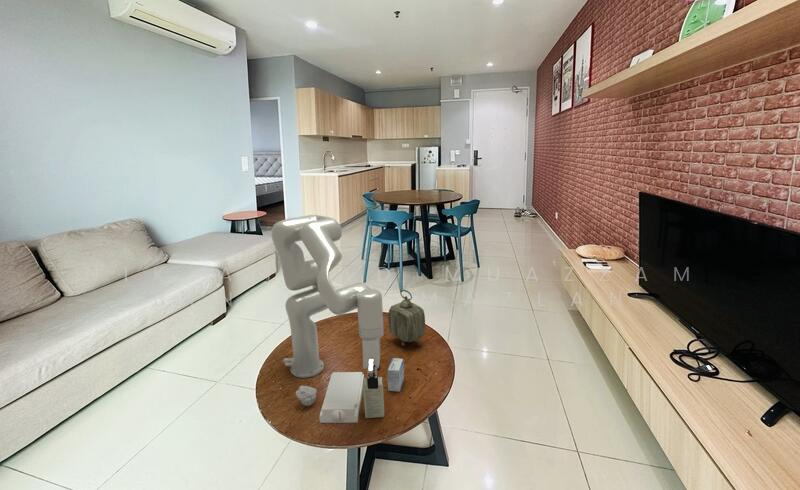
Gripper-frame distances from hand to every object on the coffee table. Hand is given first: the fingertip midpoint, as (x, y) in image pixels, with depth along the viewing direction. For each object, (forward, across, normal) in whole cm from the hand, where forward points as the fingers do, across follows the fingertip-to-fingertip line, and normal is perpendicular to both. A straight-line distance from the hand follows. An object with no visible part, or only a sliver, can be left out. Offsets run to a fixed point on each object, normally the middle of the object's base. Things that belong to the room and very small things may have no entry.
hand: (374, 378), depth 121 cm
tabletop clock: (+13, -45, +10) cm, 48 cm away
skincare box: (+14, -1, -1) cm, 14 cm away
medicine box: (+13, -16, +6) cm, 22 cm away
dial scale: (+13, -8, -12) cm, 19 cm away
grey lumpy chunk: (+13, -6, -24) cm, 28 cm away
